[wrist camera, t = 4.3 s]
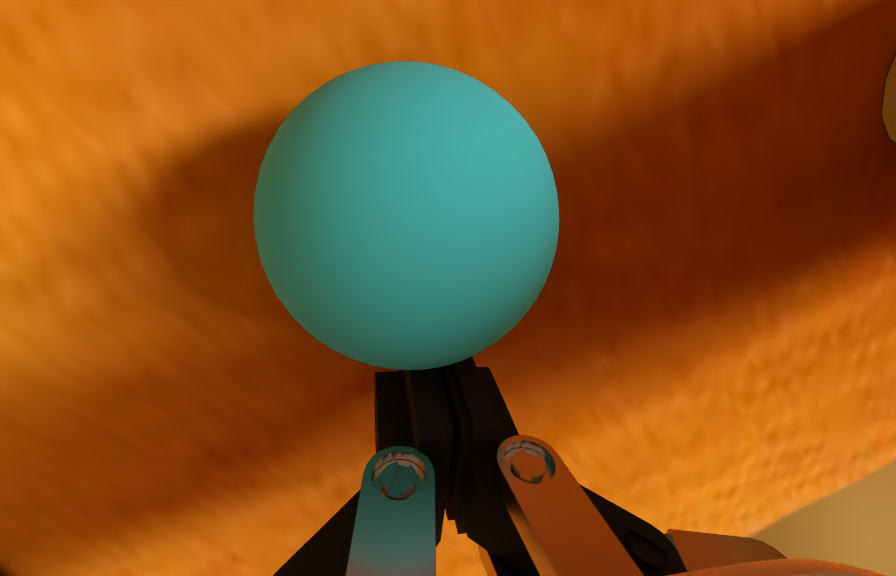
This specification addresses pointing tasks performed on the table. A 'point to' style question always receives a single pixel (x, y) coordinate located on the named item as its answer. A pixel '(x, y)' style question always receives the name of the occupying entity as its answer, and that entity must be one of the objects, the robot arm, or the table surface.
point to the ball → (406, 215)
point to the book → (890, 102)
